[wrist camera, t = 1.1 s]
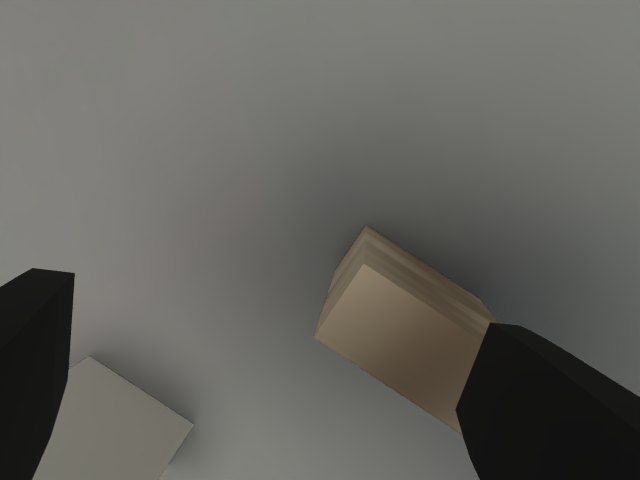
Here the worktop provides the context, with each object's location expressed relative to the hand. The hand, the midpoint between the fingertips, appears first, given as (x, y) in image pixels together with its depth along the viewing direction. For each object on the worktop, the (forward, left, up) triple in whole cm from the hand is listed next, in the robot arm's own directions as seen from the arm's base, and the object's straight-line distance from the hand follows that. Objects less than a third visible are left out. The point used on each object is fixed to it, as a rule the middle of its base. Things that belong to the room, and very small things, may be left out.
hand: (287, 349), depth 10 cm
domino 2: (-3, -1, -11) cm, 11 cm away
